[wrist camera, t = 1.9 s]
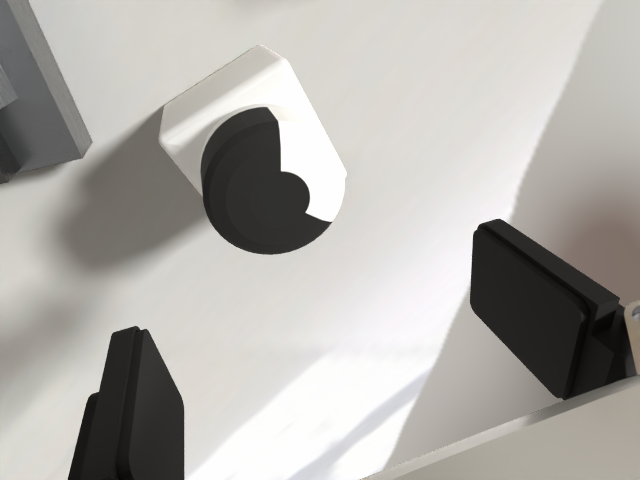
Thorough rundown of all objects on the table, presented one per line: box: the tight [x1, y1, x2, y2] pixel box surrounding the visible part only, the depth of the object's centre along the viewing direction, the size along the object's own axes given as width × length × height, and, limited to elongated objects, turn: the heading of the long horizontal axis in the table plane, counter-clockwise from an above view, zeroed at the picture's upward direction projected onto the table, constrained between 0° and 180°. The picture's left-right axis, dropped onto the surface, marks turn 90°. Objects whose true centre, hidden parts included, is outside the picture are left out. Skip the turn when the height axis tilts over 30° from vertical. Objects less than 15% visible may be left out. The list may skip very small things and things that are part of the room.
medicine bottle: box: [158, 45, 347, 255], centre depth 22 cm, size 7×7×12 cm
